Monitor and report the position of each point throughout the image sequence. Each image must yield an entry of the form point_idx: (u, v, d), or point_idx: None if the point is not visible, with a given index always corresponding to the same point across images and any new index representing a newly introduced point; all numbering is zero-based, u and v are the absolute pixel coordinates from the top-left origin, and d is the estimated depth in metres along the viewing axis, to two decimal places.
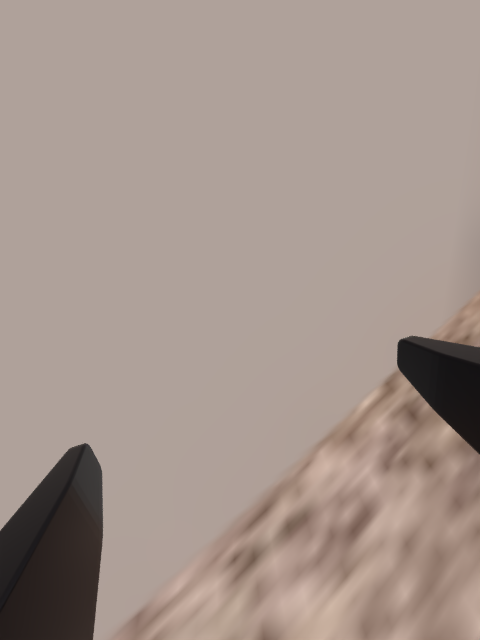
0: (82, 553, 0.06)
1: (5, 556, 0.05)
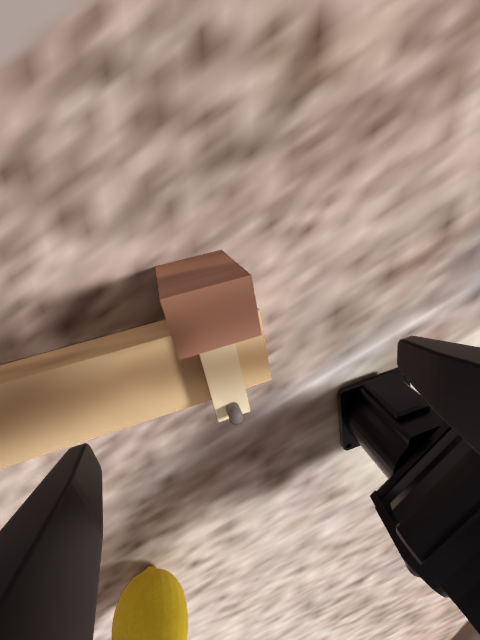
0: (82, 553, 0.06)
1: (5, 556, 0.05)
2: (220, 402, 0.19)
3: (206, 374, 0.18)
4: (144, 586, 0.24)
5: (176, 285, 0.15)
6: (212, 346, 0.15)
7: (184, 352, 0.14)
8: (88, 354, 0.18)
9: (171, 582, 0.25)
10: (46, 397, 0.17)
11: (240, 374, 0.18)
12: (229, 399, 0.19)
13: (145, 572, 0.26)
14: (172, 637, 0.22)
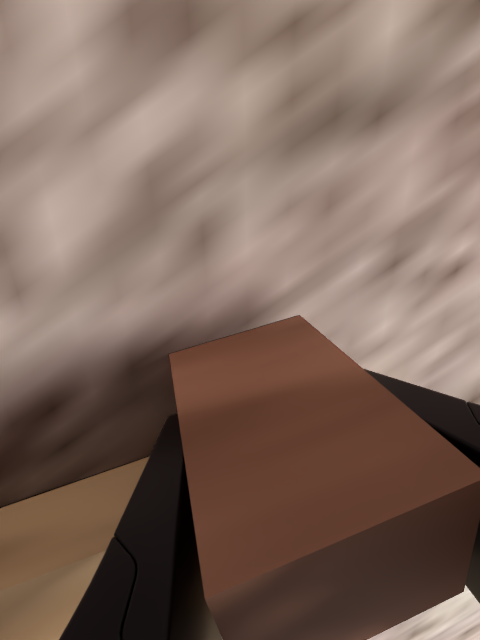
0: None
1: (157, 500, 0.06)
2: None
3: None
4: None
5: (241, 479, 0.05)
6: None
7: None
8: (24, 557, 0.08)
9: None
10: None
11: None
12: None
13: None
14: None
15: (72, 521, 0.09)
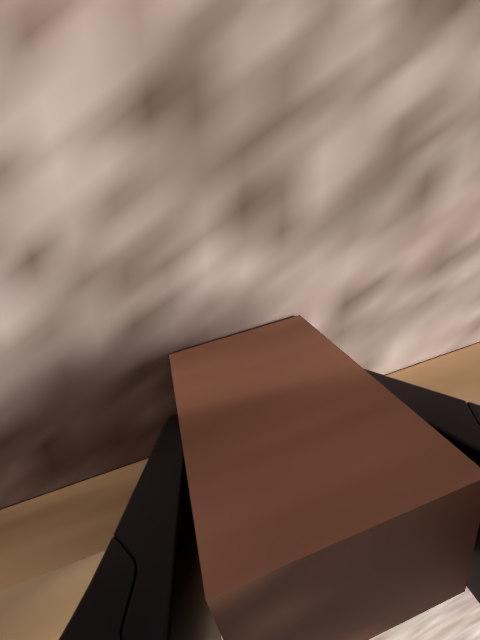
0: None
1: (157, 500, 0.06)
2: None
3: None
4: None
5: (241, 480, 0.05)
6: None
7: None
8: None
9: None
10: None
11: None
12: None
13: None
14: None
15: None
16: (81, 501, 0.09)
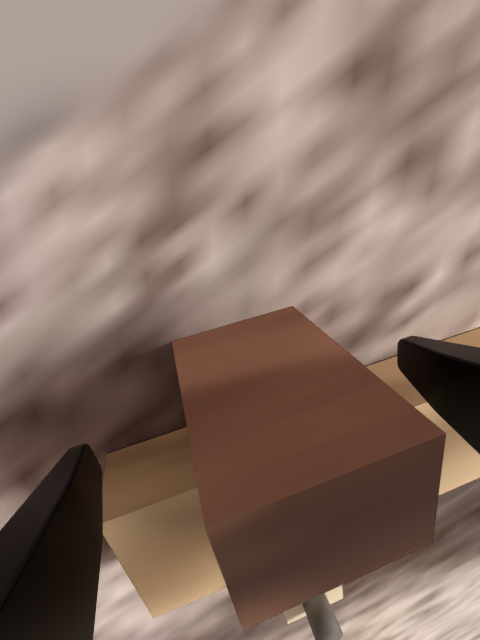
0: (82, 553, 0.06)
1: (5, 556, 0.05)
2: None
3: None
4: None
5: (236, 442, 0.06)
6: (324, 587, 0.06)
7: (258, 614, 0.06)
8: None
9: None
10: None
11: None
12: None
13: None
14: None
15: None
16: None
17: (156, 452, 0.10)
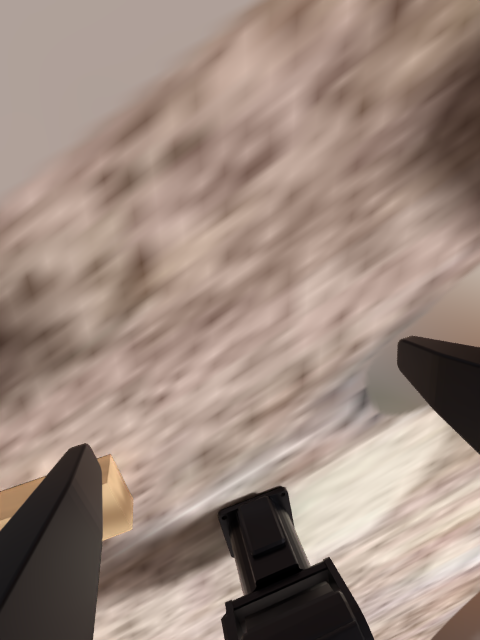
0: (82, 553, 0.06)
1: (5, 556, 0.05)
2: None
3: None
4: None
5: None
6: None
7: None
8: None
9: None
10: None
11: None
12: None
13: None
14: None
15: None
16: None
17: None
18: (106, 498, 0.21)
